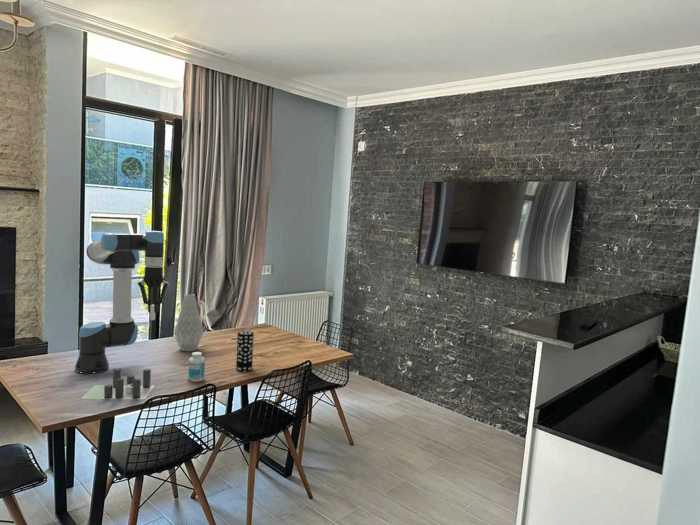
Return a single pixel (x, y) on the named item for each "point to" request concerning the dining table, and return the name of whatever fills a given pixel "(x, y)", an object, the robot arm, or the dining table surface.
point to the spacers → (119, 384)
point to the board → (98, 393)
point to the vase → (188, 325)
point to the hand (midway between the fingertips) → (152, 319)
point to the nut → (129, 389)
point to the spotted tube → (244, 351)
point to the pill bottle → (196, 367)
